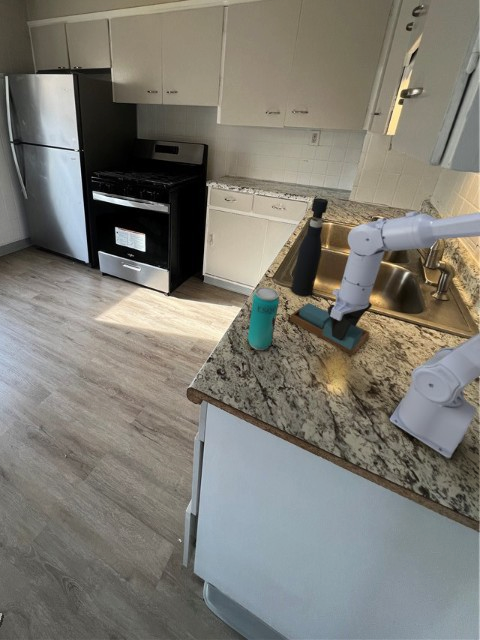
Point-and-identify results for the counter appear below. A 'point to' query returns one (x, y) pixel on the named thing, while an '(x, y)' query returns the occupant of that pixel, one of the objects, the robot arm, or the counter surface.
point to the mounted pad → (314, 315)
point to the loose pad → (350, 337)
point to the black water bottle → (309, 252)
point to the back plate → (318, 332)
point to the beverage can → (263, 317)
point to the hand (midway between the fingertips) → (342, 332)
